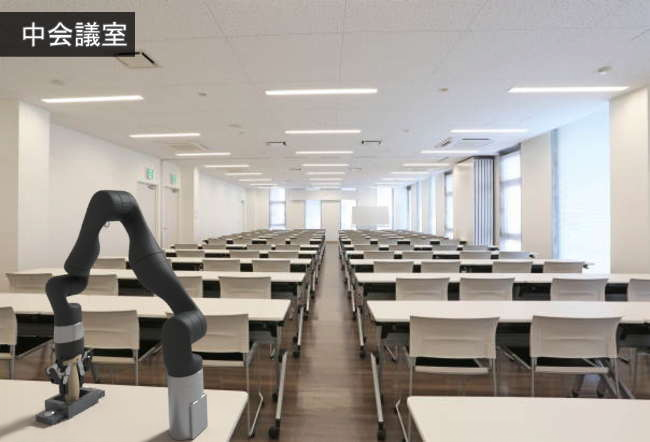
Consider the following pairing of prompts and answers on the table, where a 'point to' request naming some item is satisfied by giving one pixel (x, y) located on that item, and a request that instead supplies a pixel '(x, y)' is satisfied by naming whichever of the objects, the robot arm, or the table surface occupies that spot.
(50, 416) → the chain end
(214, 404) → the table surface
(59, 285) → the robot arm
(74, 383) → the handle
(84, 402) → the bracket
